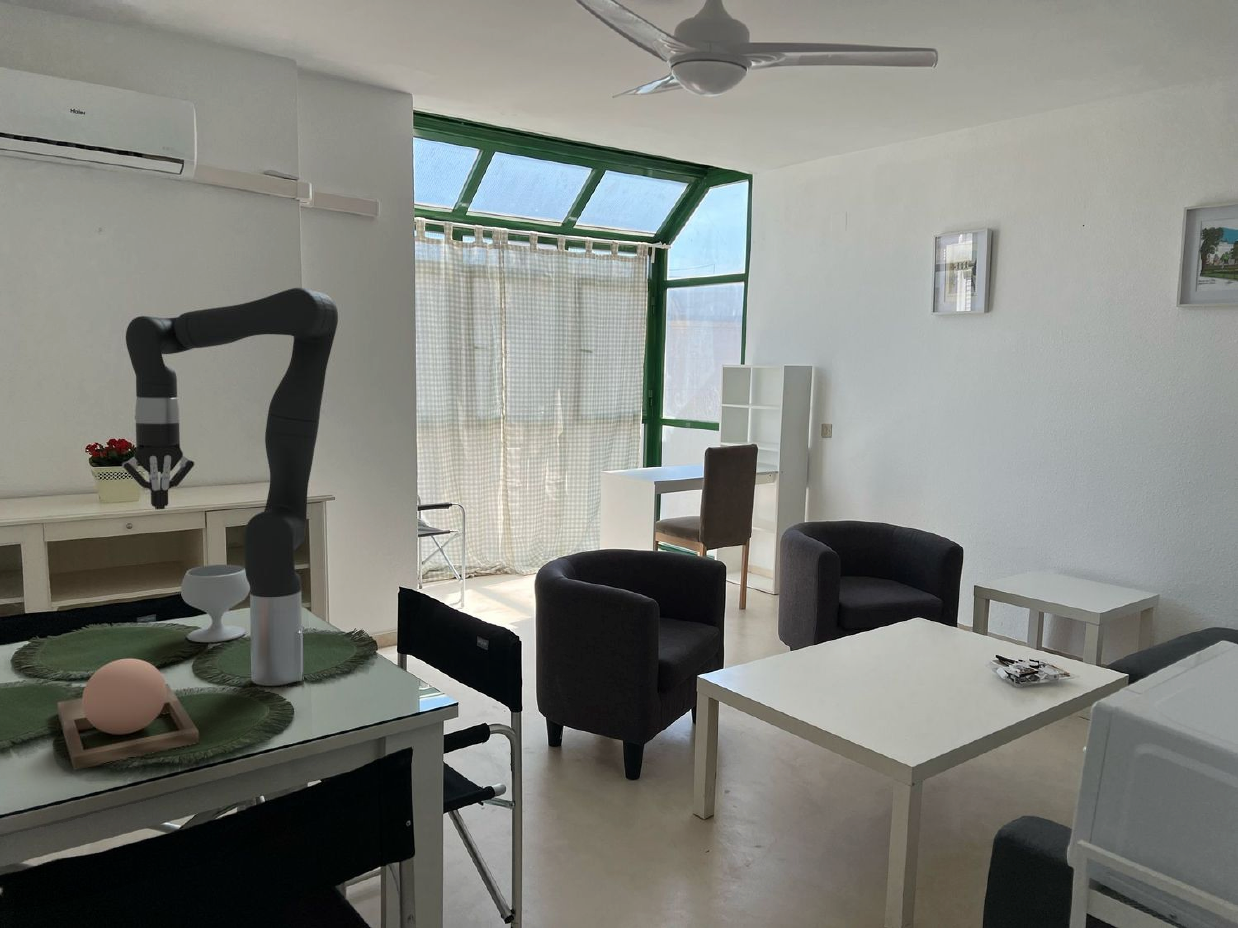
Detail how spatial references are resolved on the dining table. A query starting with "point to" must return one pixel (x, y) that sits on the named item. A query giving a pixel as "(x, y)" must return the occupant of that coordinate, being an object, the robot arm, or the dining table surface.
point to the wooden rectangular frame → (81, 758)
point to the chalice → (215, 598)
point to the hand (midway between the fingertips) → (159, 508)
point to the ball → (124, 696)
